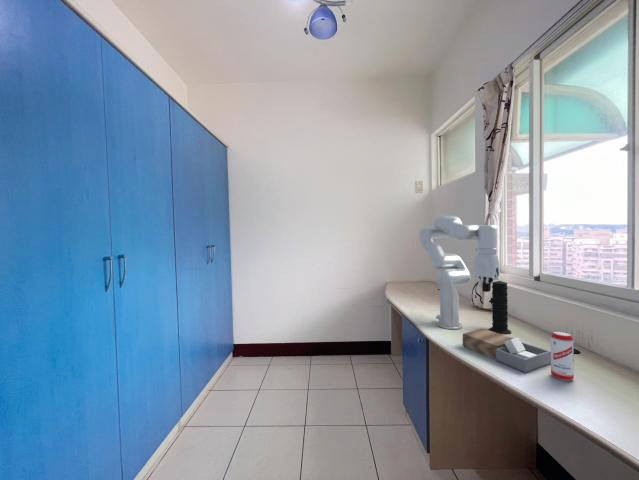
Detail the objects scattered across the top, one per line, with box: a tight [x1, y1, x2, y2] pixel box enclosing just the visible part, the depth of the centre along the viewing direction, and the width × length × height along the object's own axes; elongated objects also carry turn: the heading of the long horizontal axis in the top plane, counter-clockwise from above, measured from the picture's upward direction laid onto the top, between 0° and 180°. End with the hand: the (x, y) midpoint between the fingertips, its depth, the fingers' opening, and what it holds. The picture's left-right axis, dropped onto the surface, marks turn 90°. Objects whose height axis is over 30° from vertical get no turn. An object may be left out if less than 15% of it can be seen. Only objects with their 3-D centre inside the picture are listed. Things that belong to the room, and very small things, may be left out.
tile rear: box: [504, 337, 526, 354], centre depth 117 cm, size 5×5×4 cm
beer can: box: [550, 330, 575, 382], centre depth 102 cm, size 6×6×16 cm
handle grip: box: [488, 280, 512, 335], centre depth 149 cm, size 10×26×10 cm
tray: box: [495, 341, 551, 374], centre depth 114 cm, size 11×16×5 cm
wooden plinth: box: [462, 328, 515, 361], centre depth 126 cm, size 16×14×6 cm
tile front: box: [516, 351, 536, 359], centre depth 112 cm, size 5×5×4 cm
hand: (486, 291), depth 132 cm, fingers closed
